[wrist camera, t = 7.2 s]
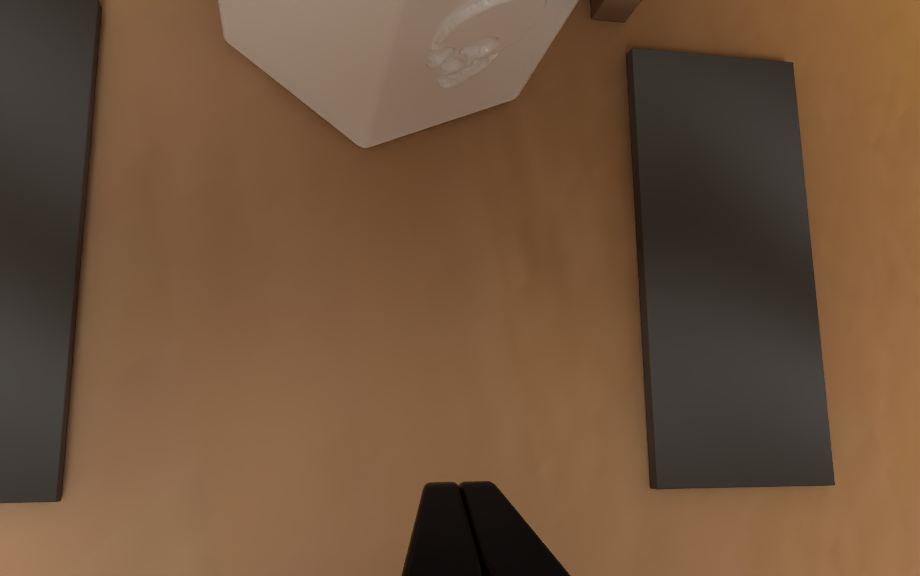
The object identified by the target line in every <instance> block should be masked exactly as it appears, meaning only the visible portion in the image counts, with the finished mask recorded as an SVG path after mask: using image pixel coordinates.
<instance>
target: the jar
mask: <svg viewBox="0 0 920 576" xmlns="http://www.w3.org/2000/svg"><path fill="white" fill-rule="evenodd" d="M578 1H579V0H217V2H218V8H219V14H220V20H221V26H222V32H223V37H224V39H225V40H226V42H227V43H228V44H230V45H231V46H232V47H233V48H235V49H236V50H237V51H239V52H240V53H241V54H242V55H244V56H245V57H246V58H247V59H249V60H250V61H251V62H252V63H254V64H255V65H256V66H257V67H259V68H260V69H261V70H263V71H264V72H265V73H266V74H268V75H269V76H270V77H271V78H273V79H274V80H275V81H276V82H278V83H279V84H280V85H282V86H283V87H284V88H285V89H287V90H288V91H289V92H290V93H292V94H293V95H294V96H295V97H297V98H298V99H299V100H300V101H302V102H303V103H304V104H306V105H307V106H308V107H309V108H311V109H312V110H313V111H314V112H316V113H317V114H318V115H319V116H321V117H322V118H323V119H325V120H326V121H327V122H328V123H330V124H331V125H332V126H333V127H335V128H336V129H337V130H338V131H340V132H341V133H342V134H343V135H345V136H346V137H347V138H349V139H350V140H351V141H352V142H354V143H355V144H356V145H357V146H359V147H362V148H369V147H372V146H375V145H378V144H381V143H384V142H388V141H391V140H394V139H397V138H400V137H403V136H406V135H409V134H412V133H415V132H418V131H421V130H424V129H427V128H430V127H433V126H436V125H439V124H442V123H445V122H448V121H451V120H454V119H457V118H460V117H463V116H466V115H470V114H473V113H476V112H479V111H482V110H485V109H488V108H491V107H494V106H497V105H500V104H503V103H506V102H509V101H512V100H514V99H516V98H517V97H518V96H519V94H520V93H521V91H522V89H523V88H524V86H525V85H526V83H527V82H528V80H529V78H530V77H531V75H532V74H533V72H534V70H535V69H536V67H537V66H538V64H539V63H540V61H541V59H542V58H543V56H544V55H545V53H546V52H547V50H548V48H549V47H550V45H551V44H552V42H553V40H554V39H555V37H556V36H557V34H558V33H559V31H560V29H561V28H562V26H563V25H564V23H565V22H566V20H567V18H568V17H569V15H570V14H571V12H572V10H573V9H574V7H575V6H576V4H577V3H578Z"/></svg>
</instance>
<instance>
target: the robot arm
mask: <svg viewBox="0 0 920 576" xmlns="http://www.w3.org/2000/svg"><path fill="white" fill-rule="evenodd" d="M401 576H570V575H569V573H568V572H567V571H566V570H565V569H564V567H563V566H562V565H561V564H560V563H559V561H558V560H557V559H556V558H555V557H554V555H553V554H552V553H551V552H550V550H549V549H548V548H547V547H546V546H545V544H544V543H543V542H542V541H541V540H540V538H539V537H538V536H537V535H536V534H535V532H534V531H533V530H532V529H531V527H530V526H529V525H528V524H527V523H526V521H525V520H524V519H523V518H522V517H521V515H520V514H519V513H518V512H517V511H516V509H515V508H514V507H513V506H512V505H511V503H510V502H509V501H508V500H507V498H506V497H505V496H504V495H503V494H502V492H501V491H500V490H499V489H498V488H497V486H496V485H495V484H493V483H492V482H489V481H474V482H462V483H461V484H459V486H458V485H457V484H456V483H455V482H433V483H427V484H426V485H425V486H424V488H423V492H422V496H421V499H420V503H419V507H418V511H417V515H416V519H415V523H414V527H413V531H412V535H411V539H410V543H409V547H408V551H407V555H406V559H405V563H404V567H403V571H402V575H401Z"/></svg>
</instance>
